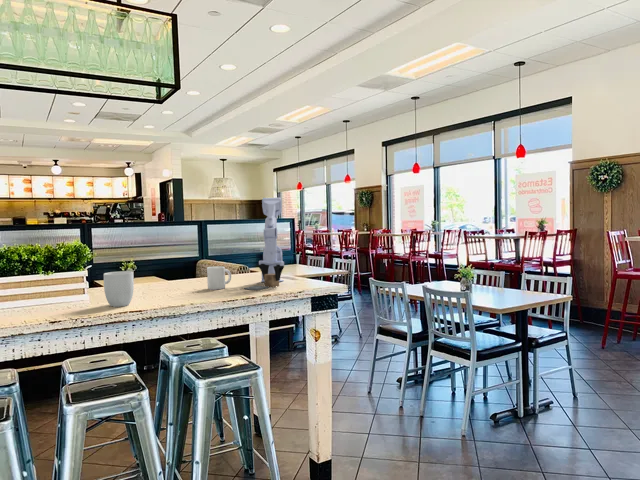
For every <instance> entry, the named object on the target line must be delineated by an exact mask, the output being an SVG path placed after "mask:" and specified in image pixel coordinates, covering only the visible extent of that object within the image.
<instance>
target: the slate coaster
mask: <svg viewBox="0 0 640 480" xmlns="http://www.w3.org/2000/svg"><path fill="white" fill-rule="evenodd" d="M265 289H269V287H266V286H265V285H264V286H263V285H251V286H248V287H247V286H245V287H244V290H250V291H260V290H265Z"/></svg>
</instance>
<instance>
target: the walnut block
mask: <svg viewBox="0 0 640 480" xmlns="http://www.w3.org/2000/svg"><path fill="white" fill-rule="evenodd" d="M264 281H265V282H264V286H266V287H268V288H275V287H276V286H277V287H280V282H279V280H278V281H276V278H275V274H272V273H271V274H265V275H264Z"/></svg>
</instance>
